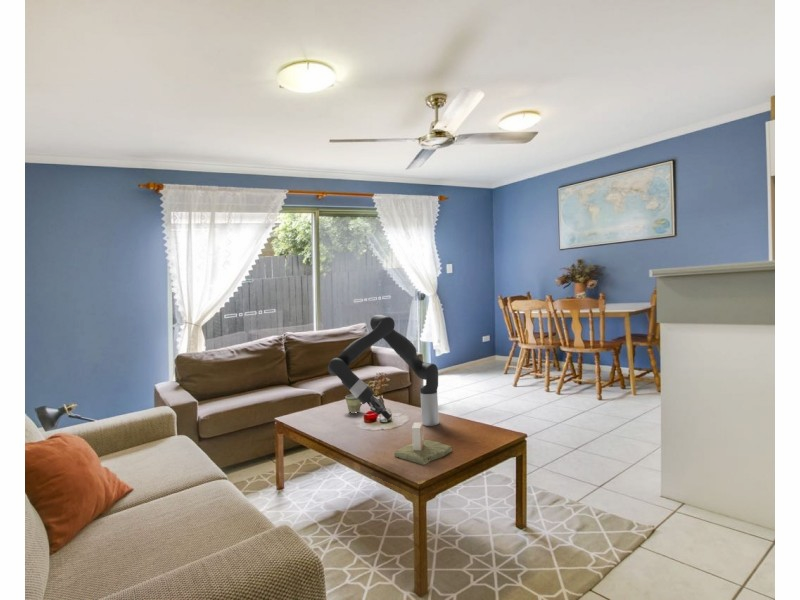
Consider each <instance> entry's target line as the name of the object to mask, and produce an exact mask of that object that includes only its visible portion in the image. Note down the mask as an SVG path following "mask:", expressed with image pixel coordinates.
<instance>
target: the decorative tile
mask: <svg viewBox="0 0 800 600" xmlns="http://www.w3.org/2000/svg"><path fill="white" fill-rule="evenodd" d="M451 452H453V448H452V446H451V445H447V444H444V443H441V442H439V441H432V440H430V439H424V445H423V448H422V450H413V444H412V442H411V443H410V444H408V445H405V446H403V447H401V448H398V449H397V450H395V452H394V454H393V455H394V457H396V458H398V457H399V458H398V459H402V460H405V461H409V462H412V463H417V464H419V465H423V466H425V465H427V464H428V463H429V462H432V461H435V460H436V459H440V458H442V457H444V456H446V455H448V454H449V453H451Z"/></svg>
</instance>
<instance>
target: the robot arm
mask: <svg viewBox="0 0 800 600" xmlns="http://www.w3.org/2000/svg"><path fill="white" fill-rule="evenodd" d="M369 323H370V327H371V328H370V329H372V331H370V332H369V333H367V334H366V335H363V336H362V337H359V338H358V339H355V340H354V341H353V342H351V343H350V344H349V345H347V347H345V348H344V349H343V350H342V352H341V353H340V354H339V355H338V356H337V357H334V358H332V359H331V360H330V361H329V364H328V366H327V372H328V373H329V374H330V375H331V376H332V377H333V376H334V377H336V376H337V377H338V378H339V380H340V381H341V383H342V385H343V386H344V387H345V388H347V390H348V391H349V392H351V393H350V394H353V395H354V396H355V397H356V398H357V399H358V400H359V401H360V402H361V404H362V405H365V404H367V405H368V406H369V407H370V409H369V410H370V411H371V412H373V413H375V414H377V415H379V416H380V415H382V417H384V418H385V419H386V420H388V421H389V420H390V418H391V417H392V415H391V414H390V413H389V412H388V411H387V410H386V406H385V405H384V403H383V401H382V400H381V399H380V398H377V397H375V396H374V394H375V391H374V390H373V389H372V388H371V387H370V386H369V385H368V384H367V383H365V382H364V381H363V380H362V379H361V378H360V377H358V376H357V375H356V374H355V373H354V372H353V371H352V370H351V368H350V367H349V366H350V365H351V364H352V363H353V362H354V361H356V360H357V359H359V357H360V356H361V355H362V354H363V353H364V352H365V351H367V350H368V349H370V348H371V347H372V346H373V345H374V344H376V343H378V342H379V341H380V340H382V339H383V340H384V341H385V342H386V344H388V345H389V347H390V348H391V349H392V350H394V352H395V353H396V354H397V355H398V356H399V357H400V358H401V359H402V360H403V361H404V362H405V363H406V364H407V365H408V366H409V367H410V368H411V370H412V371H413V373H414V374H415V375H416V376H417V378H419V379H420V380H425V385H422V386H421V387H420V389H419V391H420V410H421V422H423V426H426V427H432V426H437V425H439V423H440V421H439V419H440V418H439V399H438V387H439V369H438V366H437V365H436V364H435V363H430V362H424V361H423V360H421V358H419V357H418V353H417V348H416V347H415V345H414V344H413V343H412V341H410V340H409V339H408V338H407V337H406V336H404V335H402V334H401V333H400V332H398V331H396V330H395V326H396V324H395V320H394V319H393V317H391V316H388V315H384V314H374V315H373V316H372V317H371V319H370V322H369Z"/></svg>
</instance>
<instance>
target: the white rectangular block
mask: <svg viewBox="0 0 800 600" xmlns="http://www.w3.org/2000/svg"><path fill="white" fill-rule="evenodd" d="M411 440H412V441H411V443H412V444H413V450H422V448H423V445H424V440H425V439H424V425H423V422H422V421H420V422H418V421H417V422H413V424H412V427H411Z"/></svg>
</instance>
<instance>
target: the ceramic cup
mask: <svg viewBox="0 0 800 600" xmlns="http://www.w3.org/2000/svg"><path fill="white" fill-rule="evenodd" d="M345 402H346V404H347V405H346V406H347V409H348V413H349V412H351V413H355V412H359V413H360V412H361V407H362V405H363V404H362V403H361V402H360V401H359V400H358V399H357V398H356V397H355V396H354V395H353V394H352V393H350V394H347V395H345ZM351 413H350V414H351Z"/></svg>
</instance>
